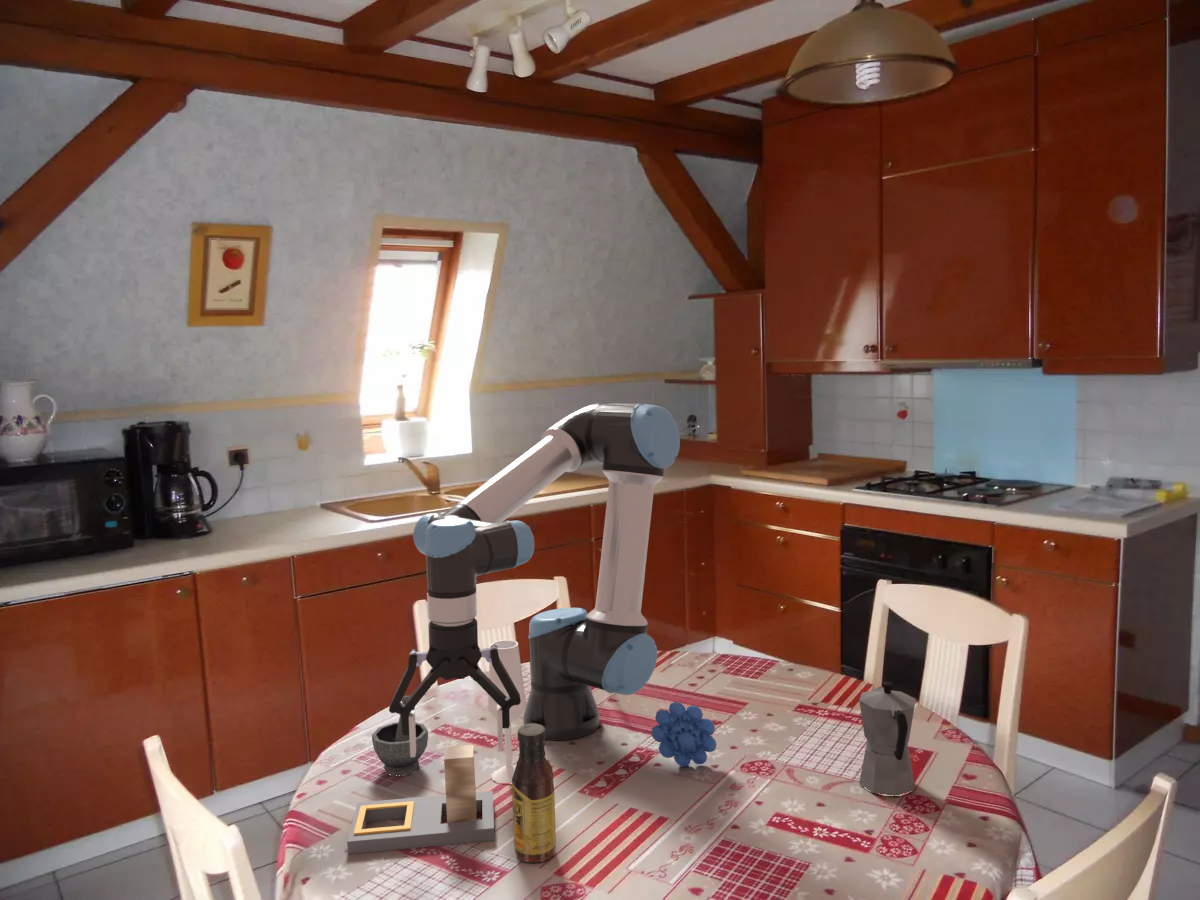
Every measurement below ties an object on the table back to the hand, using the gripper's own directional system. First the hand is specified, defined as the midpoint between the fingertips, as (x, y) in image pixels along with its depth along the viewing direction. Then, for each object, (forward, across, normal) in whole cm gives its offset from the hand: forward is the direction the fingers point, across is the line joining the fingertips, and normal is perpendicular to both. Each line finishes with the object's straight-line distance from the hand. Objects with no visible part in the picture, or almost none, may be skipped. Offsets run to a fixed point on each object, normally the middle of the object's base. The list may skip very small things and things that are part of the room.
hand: (457, 750), depth 146 cm
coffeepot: (+12, -71, +1) cm, 72 cm away
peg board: (+12, +6, 0) cm, 14 cm away
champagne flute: (+12, -8, -15) cm, 21 cm away
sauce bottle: (+12, -11, +11) cm, 20 cm away
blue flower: (+12, -39, -12) cm, 43 cm away
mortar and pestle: (+12, +11, -22) cm, 28 cm away
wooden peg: (+12, 0, 0) cm, 12 cm away
